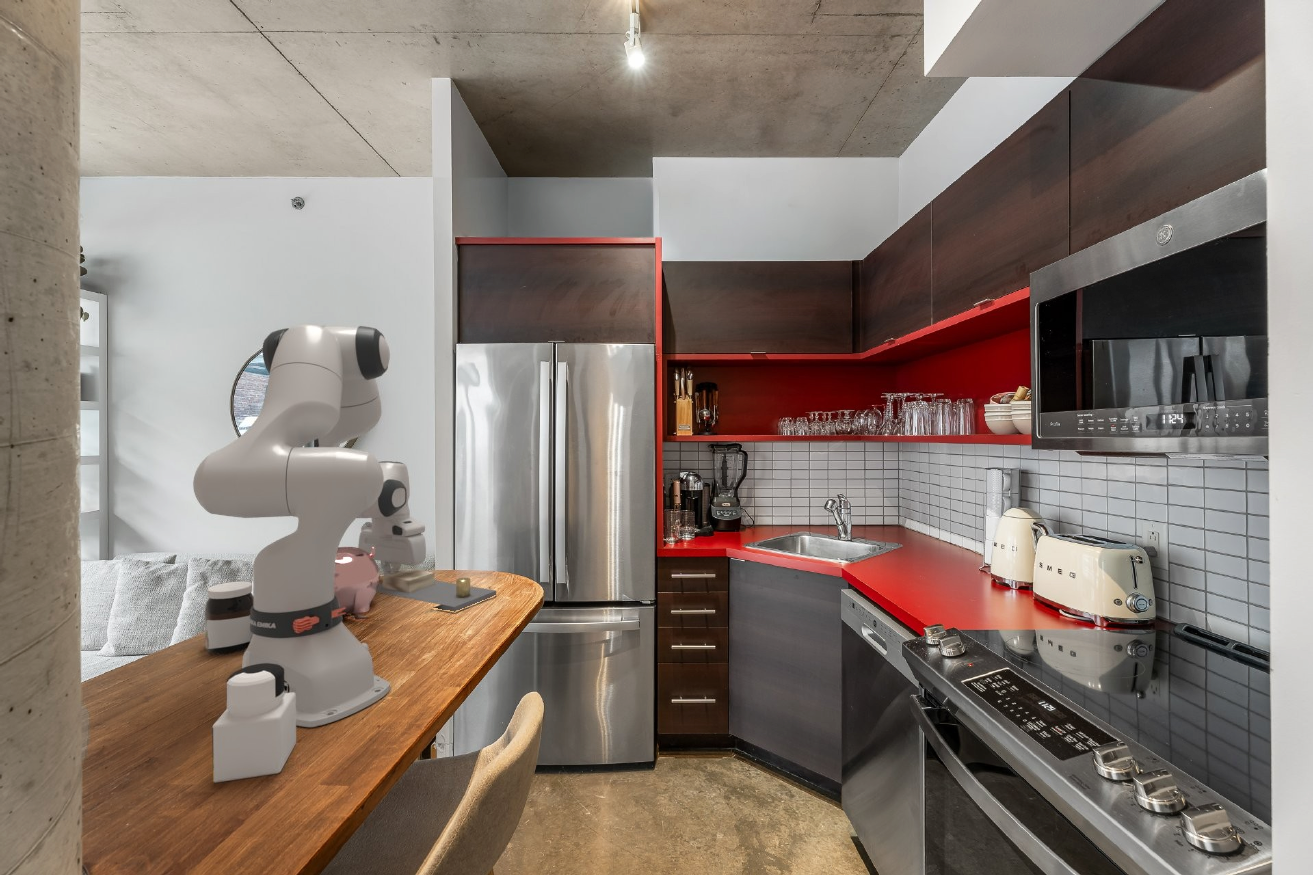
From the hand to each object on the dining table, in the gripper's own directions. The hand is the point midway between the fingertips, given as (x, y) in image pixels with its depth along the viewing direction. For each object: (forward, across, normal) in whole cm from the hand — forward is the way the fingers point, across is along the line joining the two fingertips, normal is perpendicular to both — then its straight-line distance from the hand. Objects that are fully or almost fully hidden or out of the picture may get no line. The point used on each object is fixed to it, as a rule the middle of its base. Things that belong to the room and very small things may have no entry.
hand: (391, 578), depth 149 cm
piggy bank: (+3, +6, -20) cm, 21 cm away
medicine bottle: (+3, +46, -61) cm, 77 cm away
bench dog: (+1, +24, 0) cm, 24 cm away
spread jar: (+3, +6, -39) cm, 39 cm away
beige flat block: (+1, +6, 0) cm, 6 cm away
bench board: (+3, +13, 0) cm, 13 cm away
